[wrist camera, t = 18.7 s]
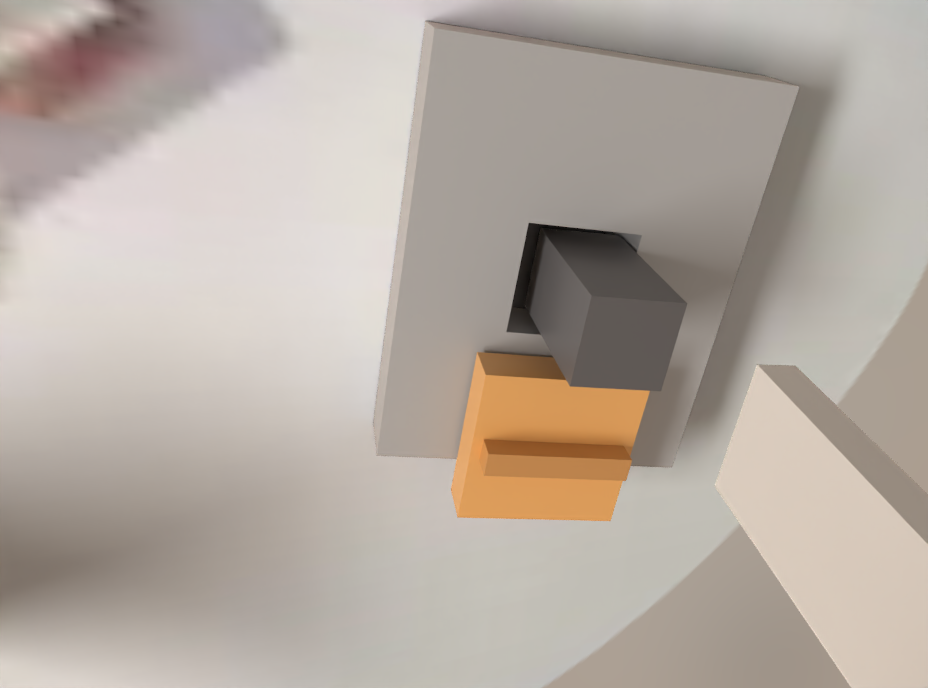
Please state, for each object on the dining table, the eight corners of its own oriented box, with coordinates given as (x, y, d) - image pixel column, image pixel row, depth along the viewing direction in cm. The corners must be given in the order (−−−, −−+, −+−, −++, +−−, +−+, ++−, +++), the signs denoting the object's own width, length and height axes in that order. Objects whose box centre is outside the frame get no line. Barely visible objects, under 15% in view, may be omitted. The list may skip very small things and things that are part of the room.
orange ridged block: (477, 351, 37) (490, 388, 34) (635, 363, 39) (661, 398, 36) (451, 489, 40) (461, 533, 37) (597, 494, 42) (618, 536, 39)
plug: (535, 221, 38) (591, 295, 30) (612, 228, 39) (687, 303, 31) (520, 296, 40) (569, 386, 32) (594, 302, 40) (660, 391, 33)
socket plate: (425, 20, 33) (434, 28, 30) (764, 75, 36) (799, 86, 34) (373, 422, 42) (376, 455, 39) (651, 436, 45) (672, 467, 42)
